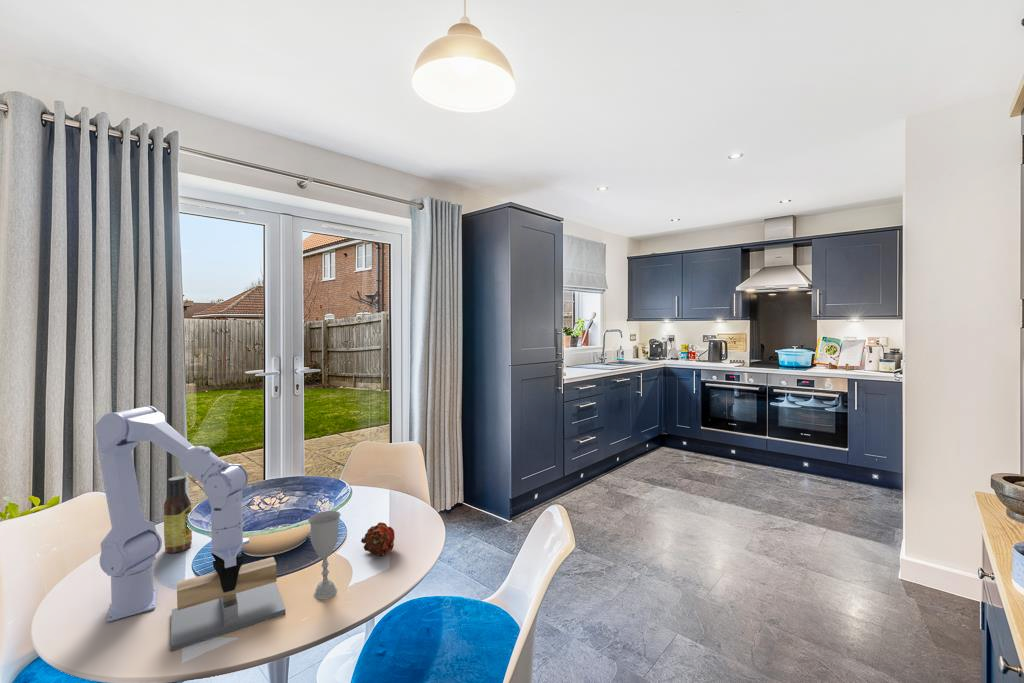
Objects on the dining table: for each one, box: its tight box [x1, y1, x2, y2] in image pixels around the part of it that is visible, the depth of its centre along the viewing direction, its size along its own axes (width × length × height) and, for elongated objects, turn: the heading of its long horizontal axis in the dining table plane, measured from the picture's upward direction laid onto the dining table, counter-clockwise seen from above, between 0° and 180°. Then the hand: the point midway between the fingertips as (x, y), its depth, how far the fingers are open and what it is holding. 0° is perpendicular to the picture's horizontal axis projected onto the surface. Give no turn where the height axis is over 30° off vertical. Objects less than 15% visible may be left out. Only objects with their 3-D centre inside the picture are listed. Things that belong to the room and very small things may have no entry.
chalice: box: [307, 510, 341, 600], centre depth 107 cm, size 7×7×18 cm
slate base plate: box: [170, 582, 286, 652], centre depth 99 cm, size 14×20×1 cm
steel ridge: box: [220, 594, 238, 627], centre depth 99 cm, size 13×2×4 cm, turn 36°
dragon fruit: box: [360, 522, 395, 557], centre depth 127 cm, size 8×8×12 cm
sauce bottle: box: [163, 475, 193, 554], centre depth 128 cm, size 7×6×20 cm
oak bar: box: [176, 556, 278, 611], centre depth 99 cm, size 4×18×4 cm, turn 126°
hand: (228, 585), depth 99 cm, fingers closed on oak bar, 4 cm apart
